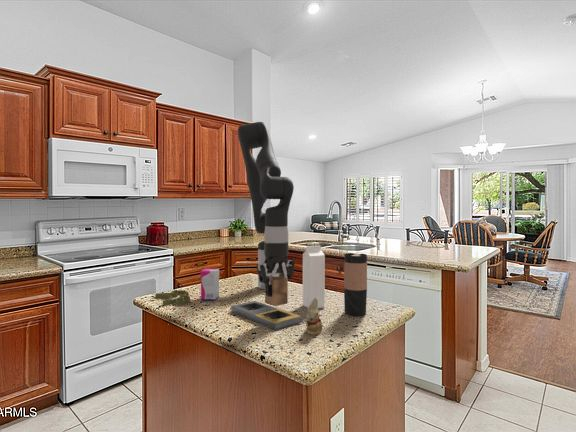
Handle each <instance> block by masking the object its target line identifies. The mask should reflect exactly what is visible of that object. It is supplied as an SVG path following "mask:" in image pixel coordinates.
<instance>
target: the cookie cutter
mask: <svg viewBox="0 0 576 432" xmlns="http://www.w3.org/2000/svg"><path fill="white" fill-rule="evenodd" d="M154 297H155V299H164V300H162V306H164V307H165V306H171V305H174V304H175V305H176V306H183V305H187V304H189V303H190V302H191V296H190V295H189V291H188V290H181V289H180V290H178V289H174V290H172V291H171V292H162V293H161V292H158V293H155V296H154Z"/></svg>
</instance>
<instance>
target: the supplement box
mask: <svg viewBox="0 0 576 432" xmlns="http://www.w3.org/2000/svg"><path fill="white" fill-rule="evenodd" d="M219 298H220V269H219V268H204V269H202V270H200V301H211V302H215V301H217V300H218V299H219Z"/></svg>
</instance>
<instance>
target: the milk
mask: <svg viewBox="0 0 576 432" xmlns="http://www.w3.org/2000/svg"><path fill="white" fill-rule="evenodd" d="M325 258H326V255H325V253H324V252H323V251H322V246H321V245H309V246H306V247H305V251H304V252H303V253H302V306H304V307H305V308H306V309H308V308H309V306H310V305H311V303H312V301H313V300H314V298H317V300H318V309H323V308H325V306H326V305H325V300H326V299H325V297H326V296H325V295H326V293H325V292H326V291H325V285H326V284H325V282H326V279H325V277H326V274H325V273H326V271H325V268H326V263H325V260H326V259H325Z"/></svg>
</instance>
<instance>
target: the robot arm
mask: <svg viewBox="0 0 576 432" xmlns="http://www.w3.org/2000/svg"><path fill="white" fill-rule="evenodd" d="M237 137H238V140H239V146H240V149H241V150H240V151H241V154H242V157H243V161H244V162H243V163H244V167H245V172H246V179H247V186H248V191H249V195H250V200H251V205H252V212H253V214H252V215H253V223H254V228H255V231H256V233H258V234H263V238H264V240H263V241H260V242H259V243H257V248H258V249H257V252H258V253H257V258H258V259H257V261H258V262H257V264H256V271H257V275H258V276H257V288H258V289H260V290H264V295H265V294H266V295H267V296H268V297H272V285H271V284H272V282H273V278H274V277H275V276H282V277H286V278H288V281H289V280H292V279H293V276H294V270H295V264H296V261H295V260H291V259H288V256H289V228H288V222H289V221H288V217H289V215H288V213H289V209H290V206H291V205H290V204H291V200H292V197H293V194H294V190H295V188H294V187H295V186H294V183H293V181H292V179H291V178H290V177H288V176H281V175H282V171H281V170H282V169H281V168H280V165H279V162H278V161H277V158H276V154H275V152H274V147H273V144H272V138H271V136H270V133H269V129H268V126H267V125H266V123H265V122H264V121H255V122H250V123H245V124H241V125H239V126H238V127H237ZM259 148H260V150H259V152H258V153H257V155H256V158H255V157H254V156H253V154H252V152H251V150H253V149H259ZM267 200H279V202H278V204H277V205H274V206H270V207H267V208H266V209H265V211H264V212H262V210H263V207H264V204H265V203H266V201H267ZM269 277H270V278H269Z"/></svg>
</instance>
